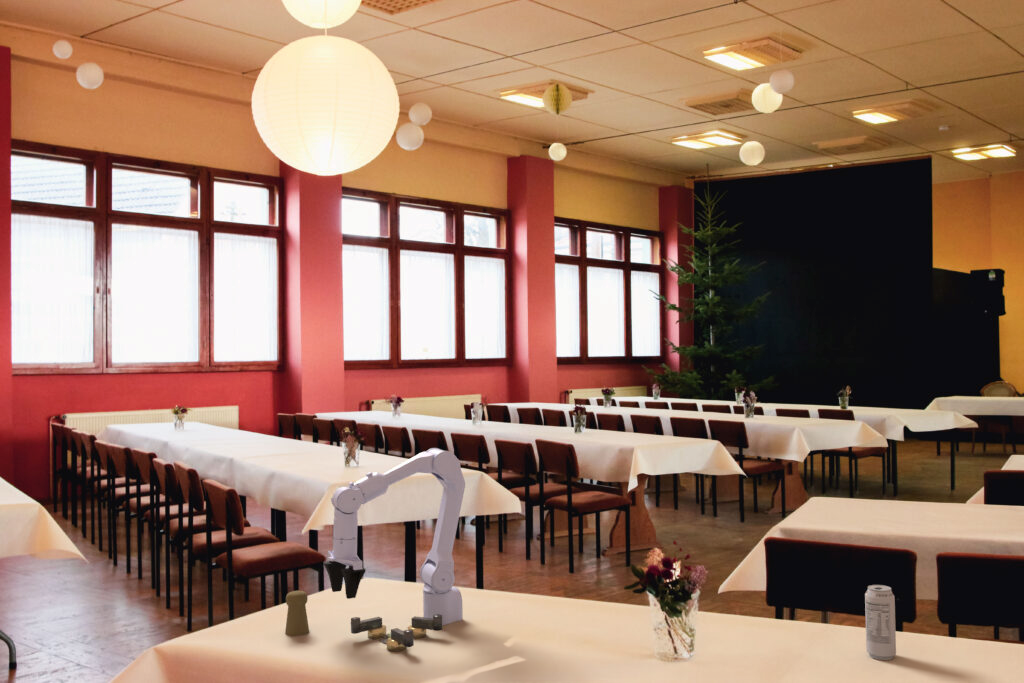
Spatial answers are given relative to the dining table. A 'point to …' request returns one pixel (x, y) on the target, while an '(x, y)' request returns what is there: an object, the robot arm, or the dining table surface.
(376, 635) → the knob
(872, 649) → the energy drink can
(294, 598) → the cork
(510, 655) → the dining table surface
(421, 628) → the knob
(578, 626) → the dining table surface
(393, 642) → the knob
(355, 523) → the robot arm
